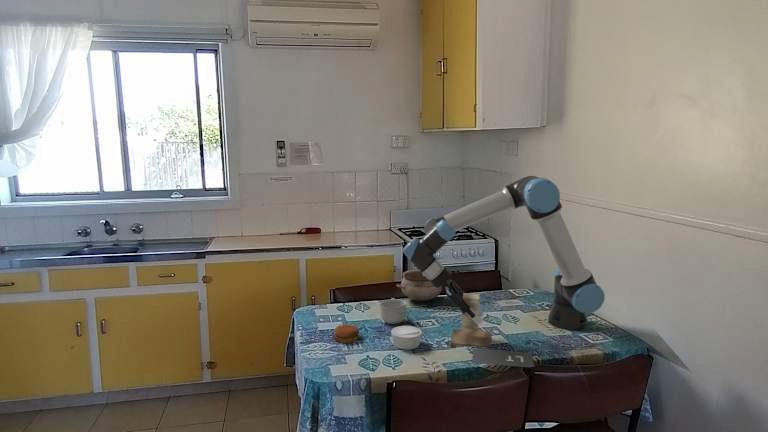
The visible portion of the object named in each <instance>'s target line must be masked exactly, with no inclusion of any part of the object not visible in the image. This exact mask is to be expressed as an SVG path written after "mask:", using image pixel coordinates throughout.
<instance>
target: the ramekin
mask: <svg viewBox="0 0 768 432" xmlns="http://www.w3.org/2000/svg"><path fill="white" fill-rule="evenodd" d="M390 331H391V332H390V334H391V337H392V343H393V346H394V347H395V348H398V349H400V350H408V351H409V350H414V349H417V348H418V347H419V346H420V344H421V338H422V336H423V335H422V334H423V332H422V329H421V328H418V327H417V326H412V325H400V326H396V327H393V328H392V329H391V330H390Z"/></svg>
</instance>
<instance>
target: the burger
mask: <svg viewBox="0 0 768 432" xmlns="http://www.w3.org/2000/svg"><path fill="white" fill-rule="evenodd" d="M359 335H360V330H359V328H358V327H357V326H356V325H354V324H344V323H343V324H339V325H338V326H336V327H335V329H334V334H333V338H334V340H335V341H337V342H339V343H342V344H350V343H353V342H356V341H358V338H359Z"/></svg>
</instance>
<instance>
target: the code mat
mask: <svg viewBox="0 0 768 432" xmlns="http://www.w3.org/2000/svg"><path fill="white" fill-rule="evenodd" d="M471 363H472V364H474V363H475V364H485V365H498V366H509V367H520V368H531V367H534V368H535V364H534V363H535V362H534V357H533V353H532V352H522V351H510V350H508V351H507V350H497V349H483V348H472V360H471Z"/></svg>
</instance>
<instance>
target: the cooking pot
mask: <svg viewBox="0 0 768 432" xmlns="http://www.w3.org/2000/svg"><path fill="white" fill-rule="evenodd" d="M402 276H403V277H402V279H401V283H400V284H398V283H397V284H396V287H397V288H400V289H401V291H402V293H403V295H404V296H406V297H408V298H409V299H410V300H413V301H414V302H416V303H427V302H429V301H431V300H433V299H435V298H437V297H438V296H439V295H440V293H441V292H442V290H443V287H442V286H440V287H439V288H436V287H435V286H434V285H433V284H432V283H431V279H430V280H429V279H428V278H427V277H426V276H423V273H422V272H421V271H420V270H419V269H410V270H406V271H404V272H403V273H402Z"/></svg>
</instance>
